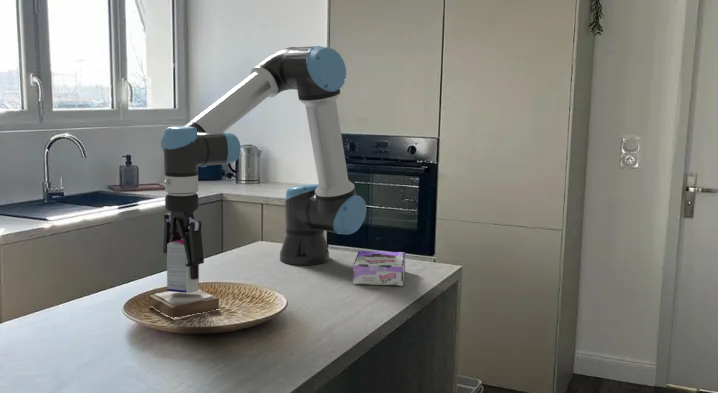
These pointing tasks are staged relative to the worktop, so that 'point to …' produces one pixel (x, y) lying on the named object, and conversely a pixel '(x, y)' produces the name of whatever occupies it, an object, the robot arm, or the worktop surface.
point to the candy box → (379, 268)
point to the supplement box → (177, 267)
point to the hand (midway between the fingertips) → (183, 287)
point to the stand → (183, 303)
